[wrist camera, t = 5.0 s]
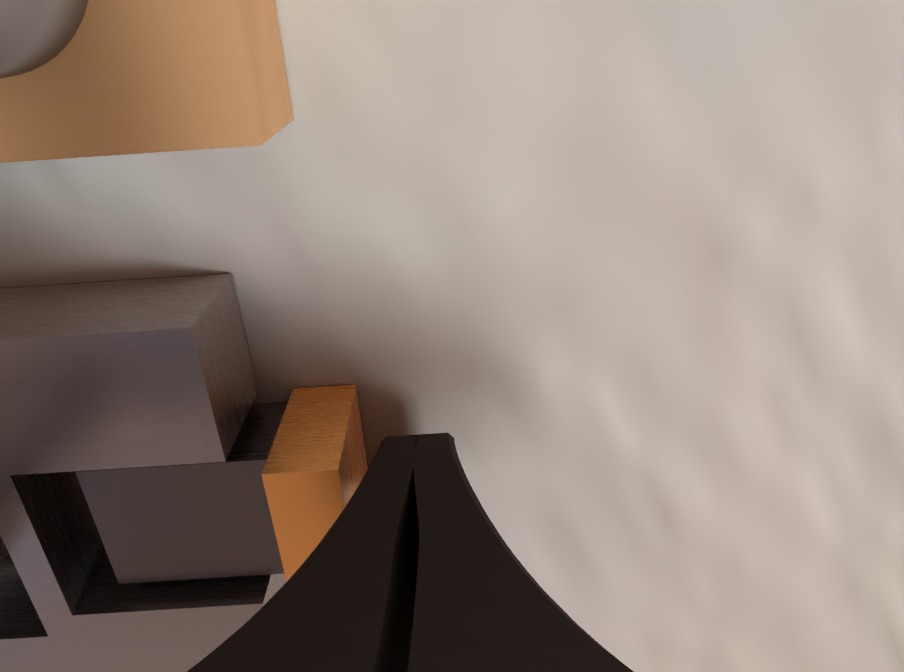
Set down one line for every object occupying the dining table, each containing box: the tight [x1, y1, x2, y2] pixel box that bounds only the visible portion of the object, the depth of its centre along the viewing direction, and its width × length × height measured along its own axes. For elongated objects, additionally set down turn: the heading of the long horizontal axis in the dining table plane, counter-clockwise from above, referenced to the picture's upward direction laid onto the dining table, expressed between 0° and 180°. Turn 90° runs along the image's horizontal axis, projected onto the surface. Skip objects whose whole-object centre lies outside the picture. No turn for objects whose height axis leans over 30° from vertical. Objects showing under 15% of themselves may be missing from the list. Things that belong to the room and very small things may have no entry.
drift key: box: [75, 385, 368, 584], centre depth 12 cm, size 5×3×3 cm
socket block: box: [0, 273, 286, 672], centre depth 12 cm, size 9×8×2 cm
